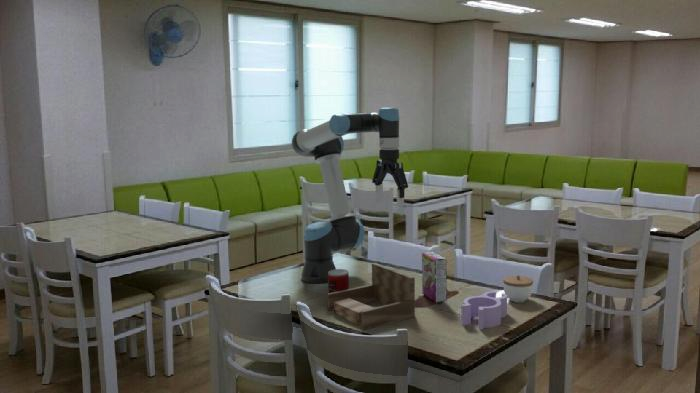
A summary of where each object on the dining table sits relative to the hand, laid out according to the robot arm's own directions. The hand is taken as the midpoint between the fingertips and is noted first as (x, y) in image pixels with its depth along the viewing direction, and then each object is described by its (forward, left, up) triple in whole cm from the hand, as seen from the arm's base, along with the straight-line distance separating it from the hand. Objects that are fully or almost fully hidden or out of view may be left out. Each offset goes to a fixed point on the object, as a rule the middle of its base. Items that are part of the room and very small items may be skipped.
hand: (389, 204), depth 245 cm
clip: (+44, +8, -35) cm, 57 cm away
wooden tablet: (+16, +7, -36) cm, 40 cm away
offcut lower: (+16, -27, -36) cm, 47 cm away
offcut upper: (+16, -27, -33) cm, 46 cm away
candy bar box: (+18, +7, -34) cm, 39 cm away
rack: (+16, -20, -35) cm, 43 cm away
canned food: (-3, -22, -35) cm, 41 cm away
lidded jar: (+36, +32, -35) cm, 59 cm away
